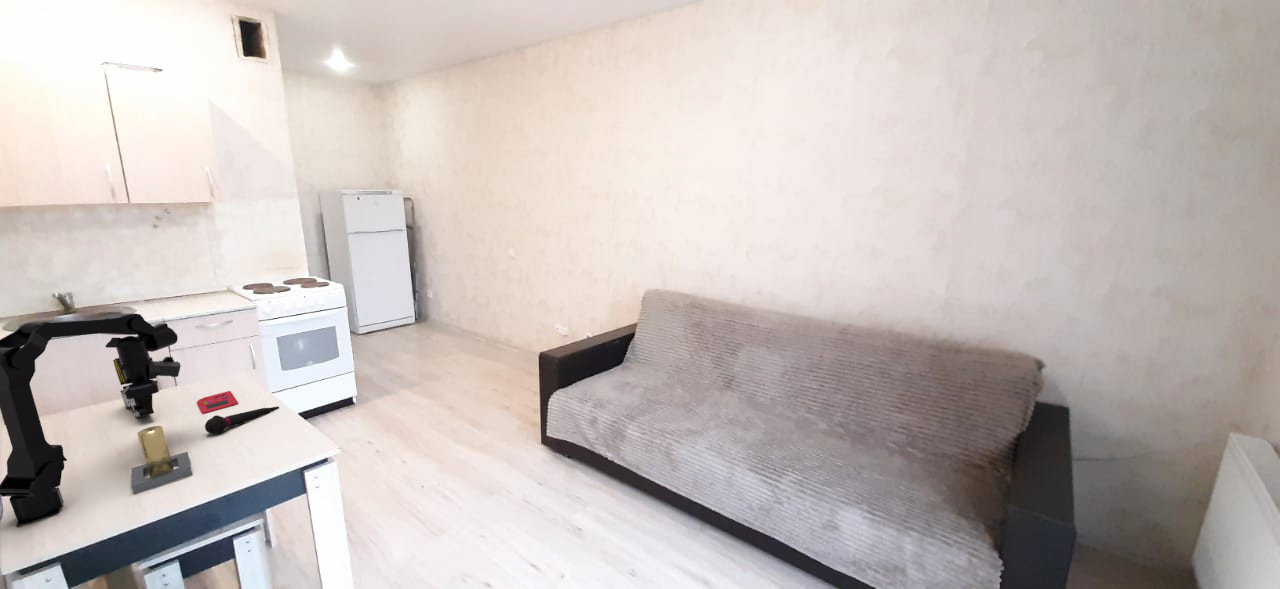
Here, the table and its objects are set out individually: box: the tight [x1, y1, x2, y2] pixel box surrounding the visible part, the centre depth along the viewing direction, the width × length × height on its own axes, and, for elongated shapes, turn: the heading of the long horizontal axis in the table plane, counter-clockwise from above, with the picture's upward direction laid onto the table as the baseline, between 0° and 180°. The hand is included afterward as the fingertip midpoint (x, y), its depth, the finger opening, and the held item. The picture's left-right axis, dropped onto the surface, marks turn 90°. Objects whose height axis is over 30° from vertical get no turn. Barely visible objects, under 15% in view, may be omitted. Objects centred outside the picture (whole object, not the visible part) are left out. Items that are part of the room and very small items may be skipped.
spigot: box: [137, 425, 175, 477], centre depth 129 cm, size 5×5×13 cm
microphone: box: [204, 406, 280, 435], centre depth 158 cm, size 6×6×20 cm
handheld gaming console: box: [196, 390, 239, 415], centre depth 172 cm, size 10×1×15 cm
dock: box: [130, 451, 193, 495], centre depth 130 cm, size 11×11×2 cm
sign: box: [112, 357, 155, 419], centre depth 163 cm, size 22×3×20 cm, turn 53°
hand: (149, 409), depth 141 cm, fingers closed
